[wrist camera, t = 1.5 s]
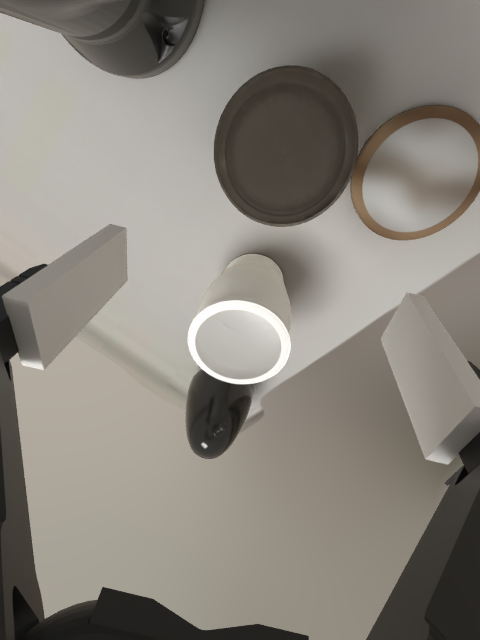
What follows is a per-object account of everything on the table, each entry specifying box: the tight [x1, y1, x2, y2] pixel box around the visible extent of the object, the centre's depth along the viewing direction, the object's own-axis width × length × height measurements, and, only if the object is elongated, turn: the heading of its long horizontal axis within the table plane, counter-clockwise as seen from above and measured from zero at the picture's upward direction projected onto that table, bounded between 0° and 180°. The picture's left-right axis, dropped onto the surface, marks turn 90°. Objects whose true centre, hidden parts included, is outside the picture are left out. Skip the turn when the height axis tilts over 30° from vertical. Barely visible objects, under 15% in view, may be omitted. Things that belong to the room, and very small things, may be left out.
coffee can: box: [214, 66, 358, 227], centre depth 29 cm, size 10×10×14 cm
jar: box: [188, 254, 291, 384], centre depth 38 cm, size 11×10×15 cm
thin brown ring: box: [351, 106, 480, 240], centre depth 34 cm, size 13×13×2 cm
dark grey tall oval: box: [186, 369, 253, 459], centre depth 48 cm, size 10×10×15 cm
